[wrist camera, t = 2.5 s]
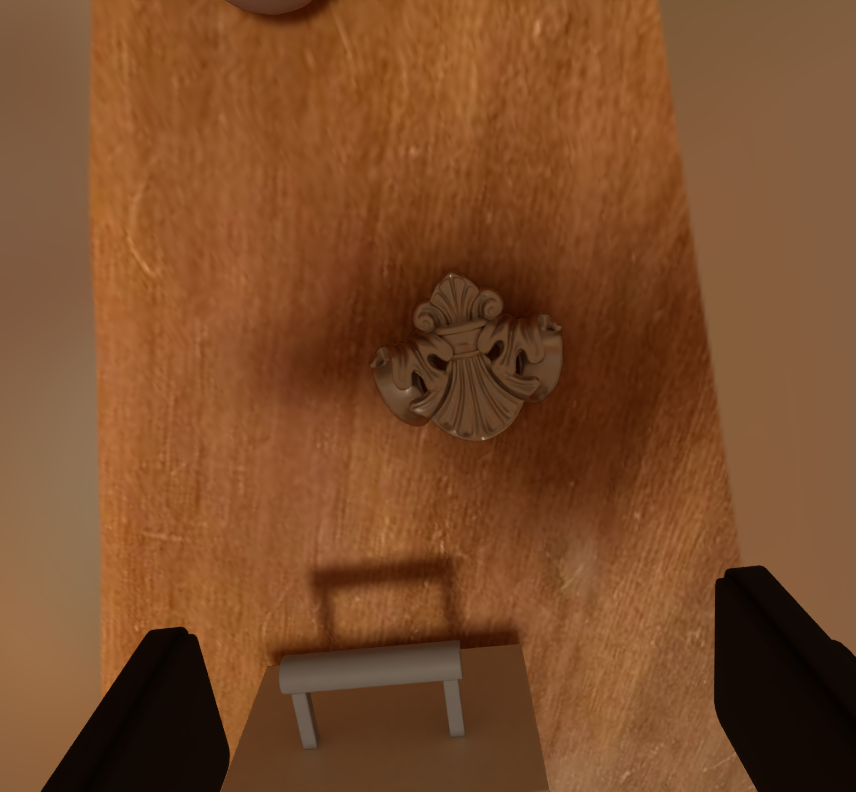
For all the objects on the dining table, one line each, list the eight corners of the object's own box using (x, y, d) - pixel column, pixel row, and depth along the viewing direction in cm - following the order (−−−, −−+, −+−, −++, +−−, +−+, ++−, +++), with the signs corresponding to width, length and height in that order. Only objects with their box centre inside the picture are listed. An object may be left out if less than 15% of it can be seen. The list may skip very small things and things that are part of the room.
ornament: (545, 245, 25) (563, 251, 21) (569, 403, 27) (589, 433, 23) (353, 286, 25) (340, 298, 22) (390, 438, 27) (384, 471, 24)
